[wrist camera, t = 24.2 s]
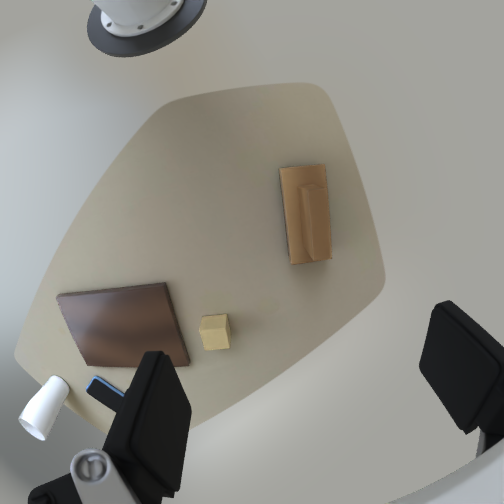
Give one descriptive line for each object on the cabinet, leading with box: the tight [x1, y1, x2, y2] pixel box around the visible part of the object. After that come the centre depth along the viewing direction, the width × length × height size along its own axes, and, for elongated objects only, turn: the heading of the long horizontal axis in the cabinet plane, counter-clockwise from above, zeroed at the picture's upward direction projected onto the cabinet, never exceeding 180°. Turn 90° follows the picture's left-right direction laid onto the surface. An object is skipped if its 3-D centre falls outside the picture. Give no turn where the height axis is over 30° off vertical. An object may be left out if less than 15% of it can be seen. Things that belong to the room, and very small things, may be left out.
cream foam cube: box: [199, 314, 231, 351], centre depth 36 cm, size 4×4×4 cm
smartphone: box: [86, 376, 124, 413], centre depth 43 cm, size 7×1×15 cm
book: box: [56, 282, 190, 367], centre depth 38 cm, size 14×20×1 cm
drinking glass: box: [19, 375, 69, 441], centre depth 36 cm, size 7×7×15 cm
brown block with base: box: [279, 164, 332, 265], centre depth 30 cm, size 5×11×8 cm, turn 8°
